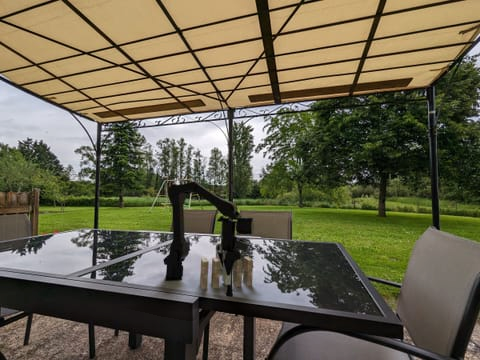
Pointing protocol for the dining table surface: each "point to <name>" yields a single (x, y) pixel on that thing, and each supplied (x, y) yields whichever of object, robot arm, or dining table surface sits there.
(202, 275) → the domino
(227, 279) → the domino
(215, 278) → the domino
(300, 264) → the dining table surface
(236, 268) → the domino
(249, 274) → the domino
